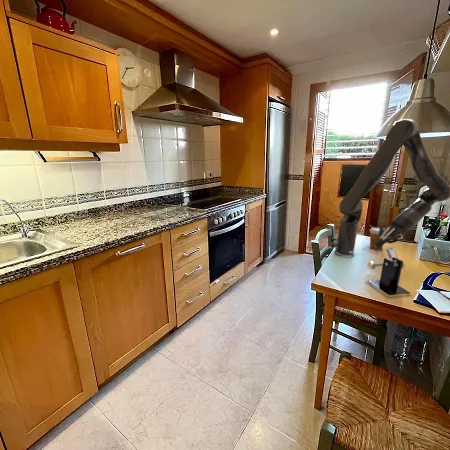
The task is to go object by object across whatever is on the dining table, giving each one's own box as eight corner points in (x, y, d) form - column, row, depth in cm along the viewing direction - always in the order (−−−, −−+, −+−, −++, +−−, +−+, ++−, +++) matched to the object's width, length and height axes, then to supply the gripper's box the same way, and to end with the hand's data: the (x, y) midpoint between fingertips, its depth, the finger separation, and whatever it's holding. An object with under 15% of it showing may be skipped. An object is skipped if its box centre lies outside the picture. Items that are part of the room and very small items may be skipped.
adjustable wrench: (387, 249, 149) (387, 246, 148) (400, 251, 145) (400, 248, 145) (388, 264, 128) (389, 261, 128) (403, 267, 125) (404, 264, 124)
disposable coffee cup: (384, 246, 153) (387, 228, 149) (385, 251, 145) (388, 232, 141) (367, 244, 157) (369, 226, 154) (366, 249, 149) (370, 230, 146)
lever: (366, 270, 114) (364, 262, 115) (373, 269, 115) (371, 261, 116) (392, 267, 100) (390, 259, 101) (400, 267, 100) (398, 258, 101)
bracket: (367, 283, 110) (372, 254, 106) (386, 281, 112) (392, 253, 108) (388, 297, 99) (395, 266, 95) (409, 295, 100) (416, 264, 96)
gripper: (391, 211, 114) (362, 236, 117) (414, 218, 102) (381, 246, 104) (399, 221, 116) (370, 246, 119) (423, 229, 103) (390, 257, 106)
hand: (375, 246), depth 111 cm, fingers closed
